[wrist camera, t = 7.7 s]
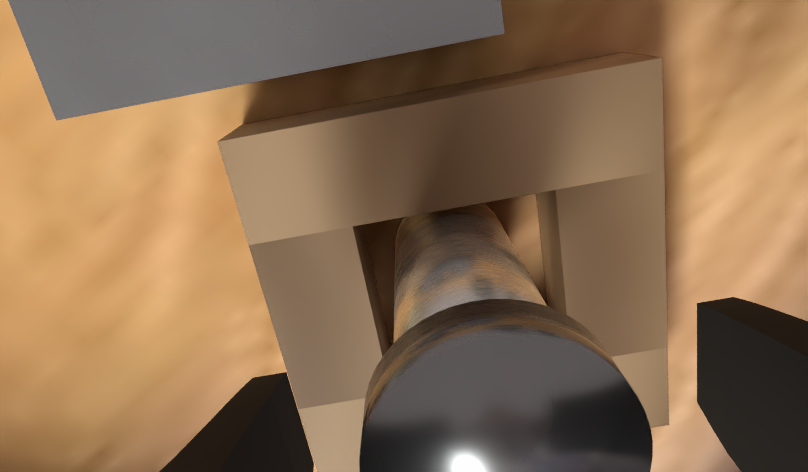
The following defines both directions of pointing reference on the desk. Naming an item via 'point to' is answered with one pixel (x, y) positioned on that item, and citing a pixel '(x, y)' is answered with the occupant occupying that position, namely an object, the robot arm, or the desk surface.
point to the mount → (222, 42)
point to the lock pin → (491, 366)
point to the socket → (450, 188)
